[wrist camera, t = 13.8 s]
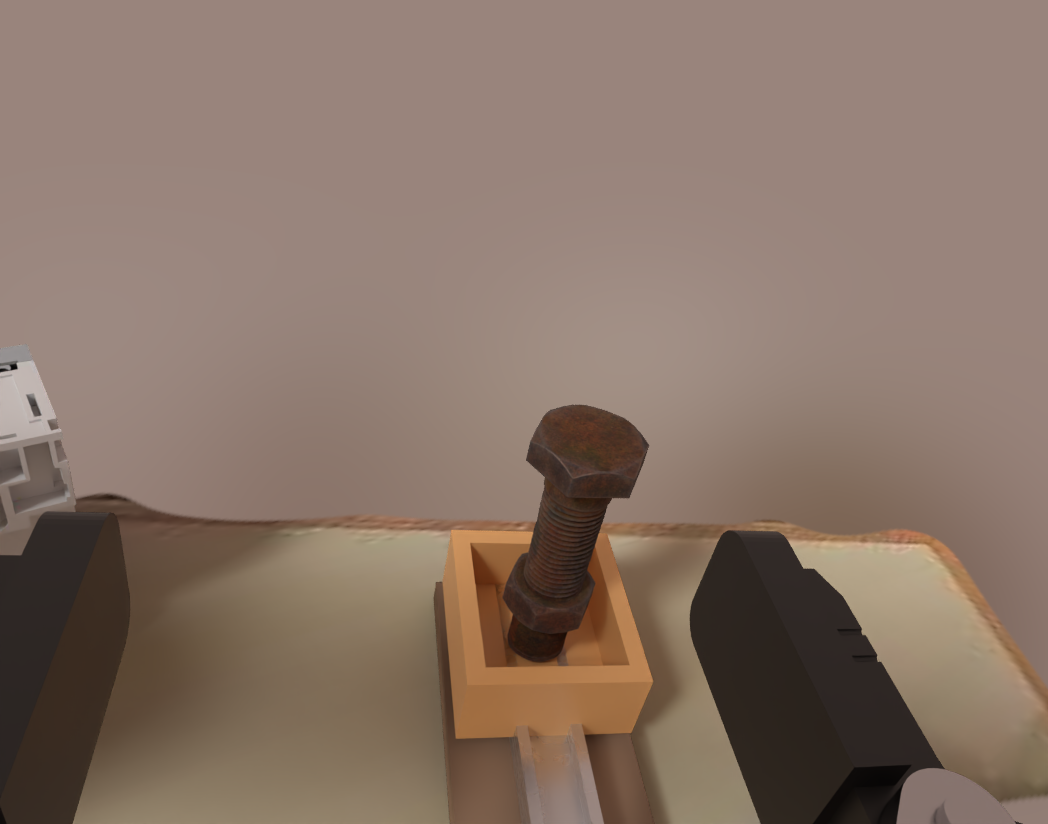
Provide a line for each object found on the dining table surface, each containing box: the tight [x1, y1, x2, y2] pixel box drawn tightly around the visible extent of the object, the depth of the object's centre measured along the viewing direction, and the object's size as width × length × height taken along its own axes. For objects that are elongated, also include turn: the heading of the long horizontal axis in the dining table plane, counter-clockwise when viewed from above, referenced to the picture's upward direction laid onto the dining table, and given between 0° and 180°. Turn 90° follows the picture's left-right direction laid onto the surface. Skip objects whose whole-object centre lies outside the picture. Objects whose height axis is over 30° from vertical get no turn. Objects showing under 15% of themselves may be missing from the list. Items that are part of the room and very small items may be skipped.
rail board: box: [434, 582, 654, 824], centre depth 45 cm, size 10×20×2 cm, turn 8°
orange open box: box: [443, 530, 653, 739], centre depth 46 cm, size 10×10×4 cm
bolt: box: [503, 405, 649, 662], centre depth 42 cm, size 6×5×15 cm
